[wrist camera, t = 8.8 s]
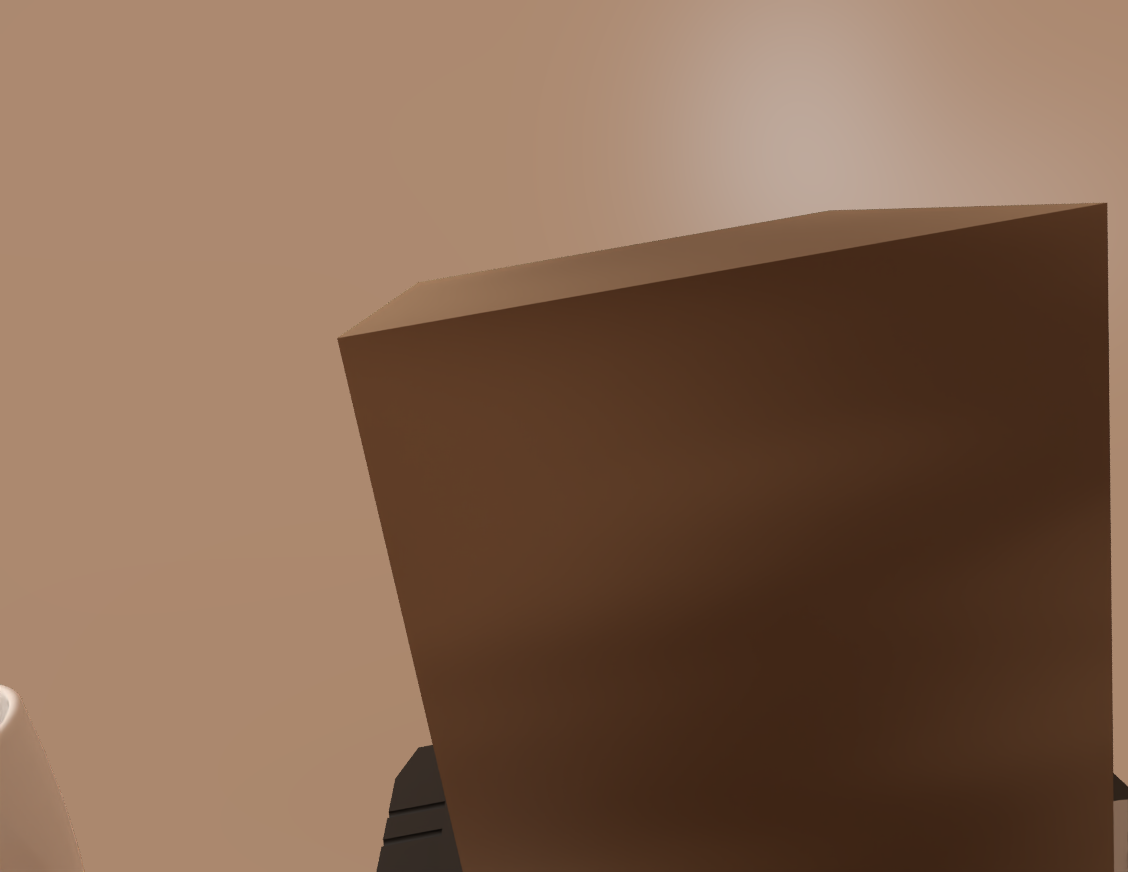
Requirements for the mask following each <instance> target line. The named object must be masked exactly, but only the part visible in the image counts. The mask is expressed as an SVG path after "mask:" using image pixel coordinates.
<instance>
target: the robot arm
mask: <svg viewBox="0 0 1128 872" xmlns="http://www.w3.org/2000/svg"><path fill="white" fill-rule="evenodd" d="M1113 811H1114V872H1128V786H1126V784H1125V783H1123V782H1122V781H1121V780H1120V779H1119V778H1118V777H1117V776H1116V775H1115V774H1114V773H1113ZM383 841H384V846H383V847H381V852H380V857H379V862H378V867H377V872H463V871H462V867H461V862H460V858H459V854H458V849H457V845H456V841H455V837H454V832H453V828H452V824H451V820H450V815H449V811H448V807H447V803H446V798H445V794H444V790H443V786H442V781H441V777H440V773H439V769H438V764H437V760H436V756H435V752H434V747H433V745H430V746H425V747H419V748H418V749H417V751H416V752H415V753H414V754H413V756H412V757H411V758H410V760H409V761H408V762H407V764H406V765H405V766H404V768H403V769H402V770H401V772H400V773H399V775H398V776H397V777H396V779H395V783H394V788H393V793H392V798H391V803H390V808H389V818H388V819H387V823H386V828H385V833H384V837H383Z"/></svg>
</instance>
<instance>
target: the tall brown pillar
mask: <svg viewBox="0 0 1128 872" xmlns="http://www.w3.org/2000/svg"><path fill="white" fill-rule="evenodd" d="M1107 234H1108V232H1107V203H1081V204H1050V205H1049V204H1048V205H1047V204H1045V205H1011V206H974V207H939V208H906V209H905V208H904V209H869V210H868V209H867V210H833V211H824V212H818V213H813V214H807V215H801V216H796V217H790V218H784V219H778V220H773V221H767V222H761V223H755V224H750V225H744V226H738V227H733V228H728V229H721V230H715V231H710V232H704V233H699V234H693V235H687V236H681V237H676V238H670V239H665V240H658V241H653V242H647V243H642V244H635V245H630V246H624V247H619V248H613V249H607V250H601V251H595V252H590V253H584V254H578V255H573V256H567V257H561V258H556V259H550V260H544V261H539V262H533V263H527V264H521V265H516V266H510V267H505V268H498V269H493V270H488V271H481V272H476V273H470V274H464V275H458V276H453V277H447V278H442V279H436V280H430V281H425V282H418V283H417V284H415V285H414V286H412V287H411V288H409V289H408V290H407V291H405V292H404V293H402V294H401V295H399V296H398V297H396V298H395V299H393V300H392V301H391V302H389V303H388V304H386V305H385V306H384V307H382V308H380V309H379V310H377V311H376V312H375V313H373V314H372V315H370V316H369V317H367V318H366V319H364V320H363V321H361V322H360V323H359V324H357V325H356V326H354V327H353V328H351V329H350V330H349V331H347V332H346V333H344V334H343V335H341V336H340V337H338V343H339V348H340V352H341V356H342V360H343V364H344V369H345V373H346V377H347V381H348V386H349V390H350V394H351V399H352V403H353V407H354V411H355V416H356V420H357V424H358V428H359V433H360V437H361V441H362V445H363V449H364V454H365V458H366V462H367V466H368V471H369V475H370V480H371V483H372V488H373V492H374V497H375V501H376V505H377V509H378V514H379V518H380V522H381V526H382V531H383V534H384V539H385V543H386V548H387V551H388V556H389V560H390V565H391V569H392V573H393V577H394V582H395V586H396V590H397V594H398V599H399V603H400V607H401V611H402V616H403V619H404V623H405V628H406V633H407V637H408V641H409V645H410V650H411V654H412V658H413V662H414V666H415V670H416V675H417V679H418V684H419V688H420V692H421V696H422V701H423V705H424V709H425V713H426V718H427V722H428V726H429V730H430V734H431V739H432V743H433V747H434V752H435V756H436V760H437V764H438V769H439V773H440V777H441V781H442V786H443V790H444V794H445V798H446V803H447V807H448V811H449V815H450V820H451V824H452V828H453V832H454V837H455V841H456V845H457V849H458V854H459V858H460V862H461V867H462V871H463V872H1114V811H1113V721H1112V720H1113V719H1112V718H1113V715H1112V629H1111V628H1112V625H1111V624H1112V621H1111V620H1112V619H1111V534H1110V533H1111V525H1110V524H1111V523H1110V438H1109V437H1110V428H1109V427H1110V425H1109V332H1108V238H1107V236H1108V235H1107Z"/></svg>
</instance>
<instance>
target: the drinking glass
mask: <svg viewBox="0 0 1128 872" xmlns="http://www.w3.org/2000/svg"><path fill="white" fill-rule="evenodd" d="M0 872H85V870H84V866H83V862H82V858H81V855H80V851H79V847H78V844H77V840H76V837H75V834H74V830H73V827H72V824H71V821H70V818H69V815H68V812H67V808H66V806H65V803H64V800H63V797H62V794H61V791H60V789H59V786H58V784H57V781H56V778H55V776H54V773H53V770H52V768H51V765H50V763H49V760H48V758H47V755H46V753H45V751H44V748H43V746H42V744H41V741H40V739H39V737H38V735H37V732H36V730H35V728H34V726H33V723H32V721H31V719H30V717H29V715H28V712H27V710H26V708H25V706H24V703H23V700H22V698H21V696H20V695H19V694H18V693H17V692H16V691H15V690H13V689H12V688H10V687H7V686H5V685H1V684H0Z"/></svg>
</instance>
